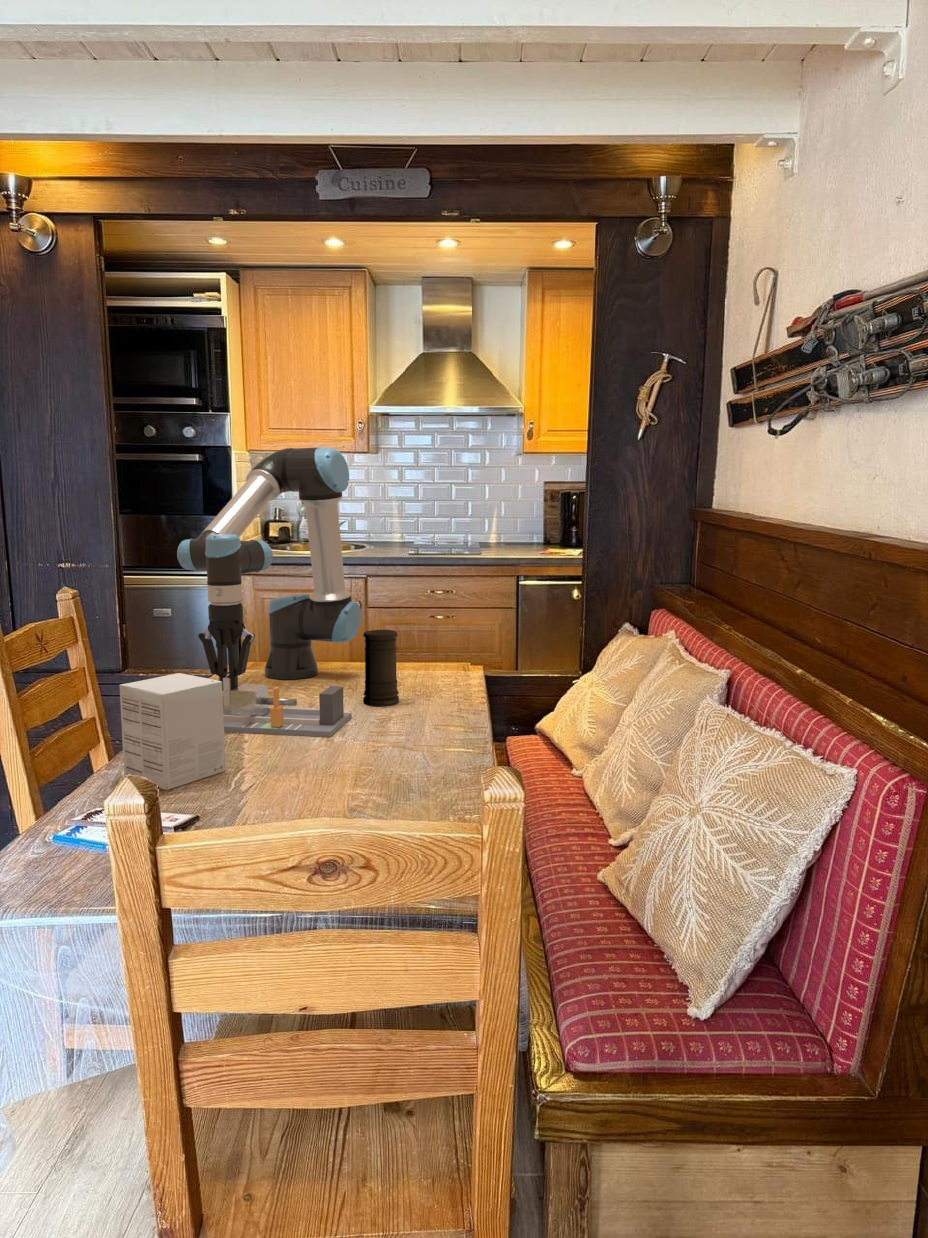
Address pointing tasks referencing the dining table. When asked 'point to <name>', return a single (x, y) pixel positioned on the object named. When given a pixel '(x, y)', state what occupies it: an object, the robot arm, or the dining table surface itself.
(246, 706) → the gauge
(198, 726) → the supplement box
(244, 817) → the dining table surface
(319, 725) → the grey slider board
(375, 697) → the container
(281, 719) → the orange t-shaped stamp
